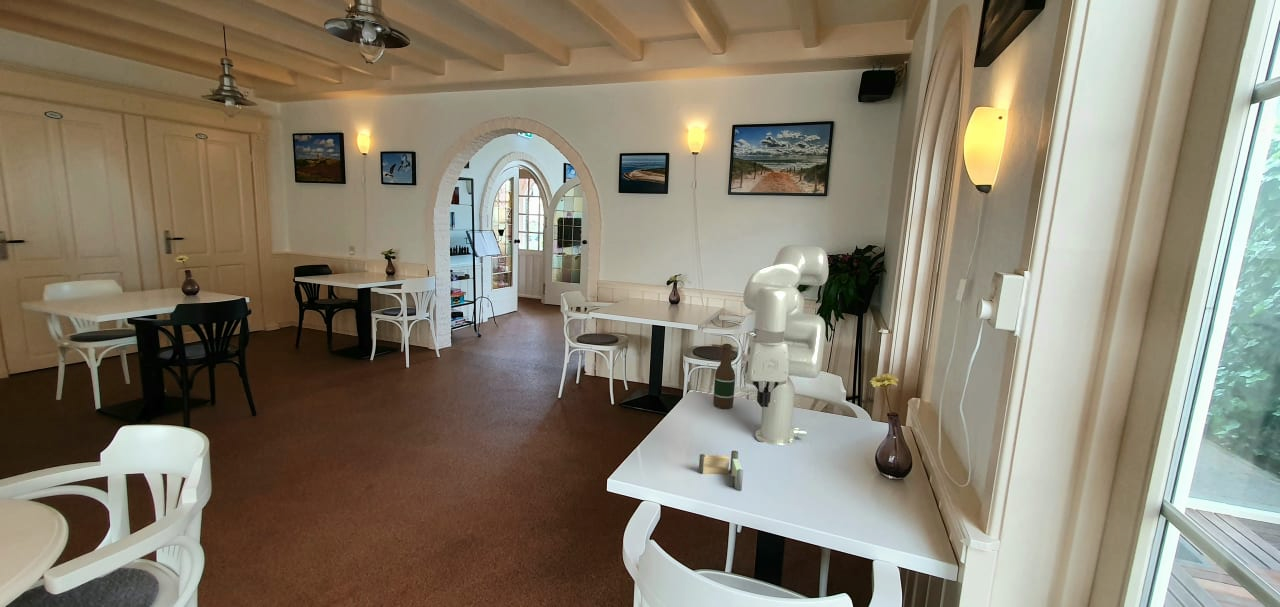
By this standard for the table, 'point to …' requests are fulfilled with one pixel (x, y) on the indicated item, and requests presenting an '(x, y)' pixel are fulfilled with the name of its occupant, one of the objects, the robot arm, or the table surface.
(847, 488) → the table surface
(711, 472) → the wooden bar grey posts
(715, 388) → the beer bottle
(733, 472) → the hinged panel
